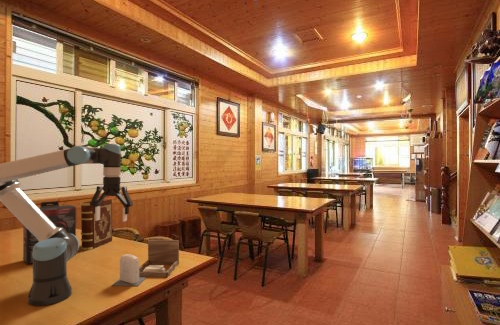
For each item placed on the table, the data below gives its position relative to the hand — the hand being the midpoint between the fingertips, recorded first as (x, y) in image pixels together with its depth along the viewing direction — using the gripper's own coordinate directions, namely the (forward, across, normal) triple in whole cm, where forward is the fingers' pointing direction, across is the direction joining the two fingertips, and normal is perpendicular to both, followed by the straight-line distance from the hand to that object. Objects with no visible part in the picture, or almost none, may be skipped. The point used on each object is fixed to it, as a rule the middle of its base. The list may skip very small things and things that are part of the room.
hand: (111, 220), depth 141 cm
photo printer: (+28, -10, +2) cm, 30 cm away
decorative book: (+29, +42, -56) cm, 76 cm away
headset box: (+30, +54, -29) cm, 68 cm away
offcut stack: (+28, -18, -9) cm, 34 cm away
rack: (+28, -18, -15) cm, 36 cm away
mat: (+28, -10, +2) cm, 30 cm away
